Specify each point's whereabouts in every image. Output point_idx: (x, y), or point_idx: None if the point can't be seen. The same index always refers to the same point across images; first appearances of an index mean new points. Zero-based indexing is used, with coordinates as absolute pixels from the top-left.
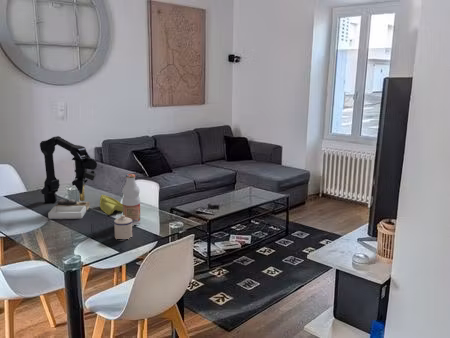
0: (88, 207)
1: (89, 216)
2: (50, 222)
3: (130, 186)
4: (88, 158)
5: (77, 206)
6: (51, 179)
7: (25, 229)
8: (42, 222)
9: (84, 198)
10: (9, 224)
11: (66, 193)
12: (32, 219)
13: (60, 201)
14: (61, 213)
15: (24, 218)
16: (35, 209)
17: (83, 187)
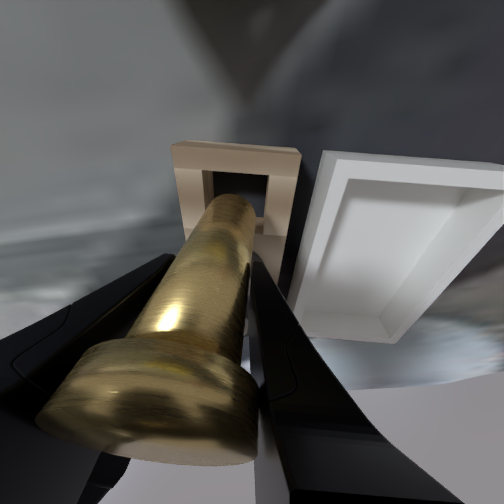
0: (234, 144)
1: (474, 94)
2: (436, 307)
3: None
4: None
5: (326, 231)
6: (86, 500)
7: (465, 356)
8: (415, 328)
9: (232, 202)
10: (379, 383)
11: (6, 299)
12: (357, 352)
13: (246, 331)
14: (431, 298)
15: (336, 366)
16: (242, 355)
17: (206, 323)
